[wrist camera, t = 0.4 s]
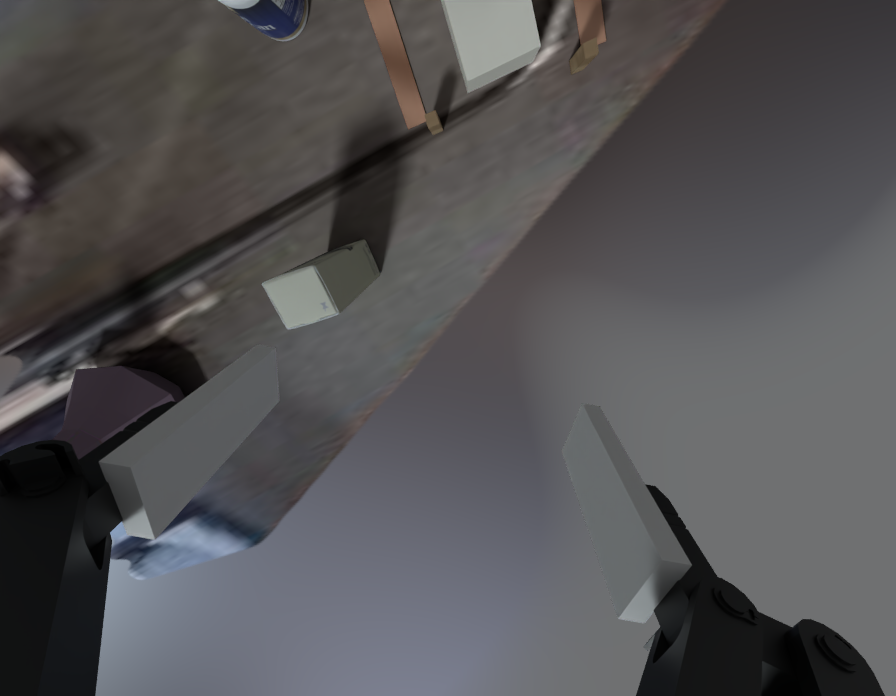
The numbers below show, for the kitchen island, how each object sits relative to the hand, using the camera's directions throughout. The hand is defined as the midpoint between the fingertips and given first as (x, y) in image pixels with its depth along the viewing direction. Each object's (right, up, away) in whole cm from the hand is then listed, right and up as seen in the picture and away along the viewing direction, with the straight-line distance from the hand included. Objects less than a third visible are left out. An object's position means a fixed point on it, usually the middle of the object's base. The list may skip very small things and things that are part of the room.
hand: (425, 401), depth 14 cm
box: (-10, +12, +24) cm, 28 cm away
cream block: (+4, +30, +14) cm, 34 cm away
